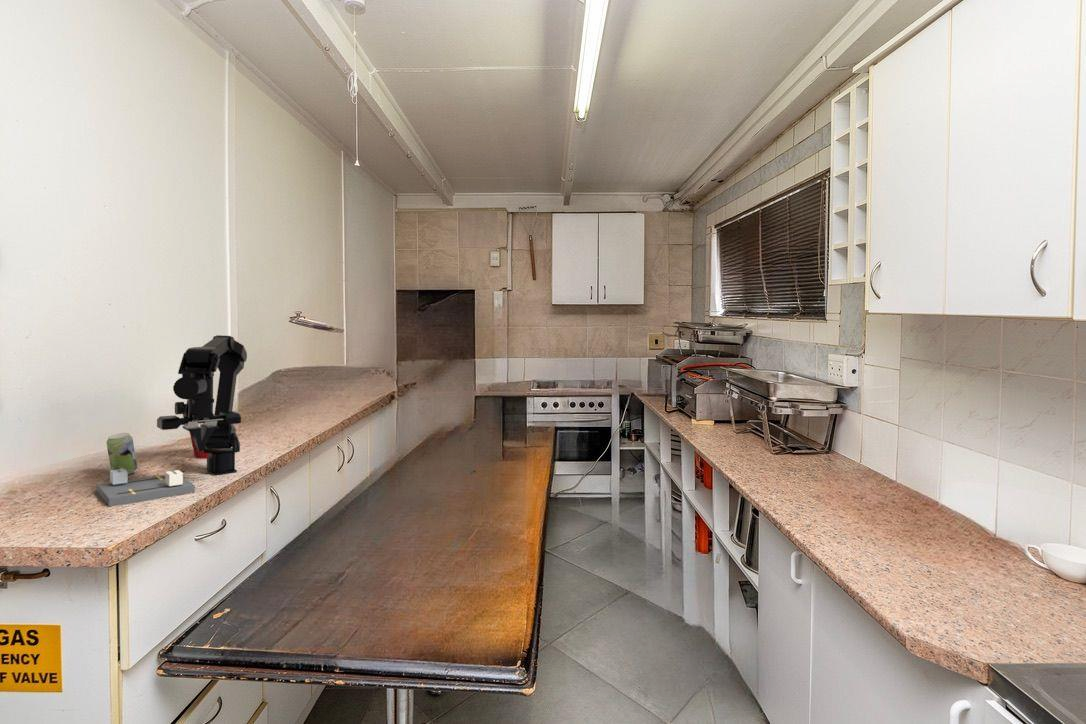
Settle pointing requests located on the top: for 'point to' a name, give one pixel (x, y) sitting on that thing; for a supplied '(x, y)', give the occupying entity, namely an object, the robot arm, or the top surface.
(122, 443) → the beverage can
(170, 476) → the cream fader
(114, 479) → the white fader
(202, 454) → the plastic cup
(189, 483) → the console
